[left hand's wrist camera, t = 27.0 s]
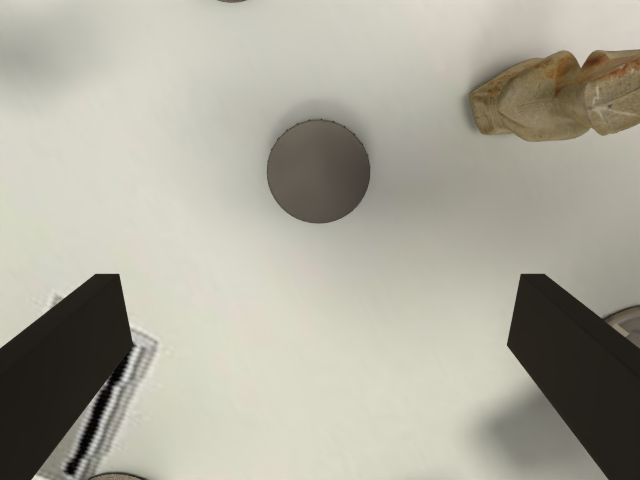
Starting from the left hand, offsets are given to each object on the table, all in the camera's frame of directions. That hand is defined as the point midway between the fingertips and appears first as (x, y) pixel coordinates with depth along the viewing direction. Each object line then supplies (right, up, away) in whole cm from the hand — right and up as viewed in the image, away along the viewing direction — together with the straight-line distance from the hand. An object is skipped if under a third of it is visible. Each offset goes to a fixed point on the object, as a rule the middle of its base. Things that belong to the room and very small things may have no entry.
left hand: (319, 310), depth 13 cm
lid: (0, +8, +23) cm, 24 cm away
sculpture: (+16, +15, +22) cm, 31 cm away
